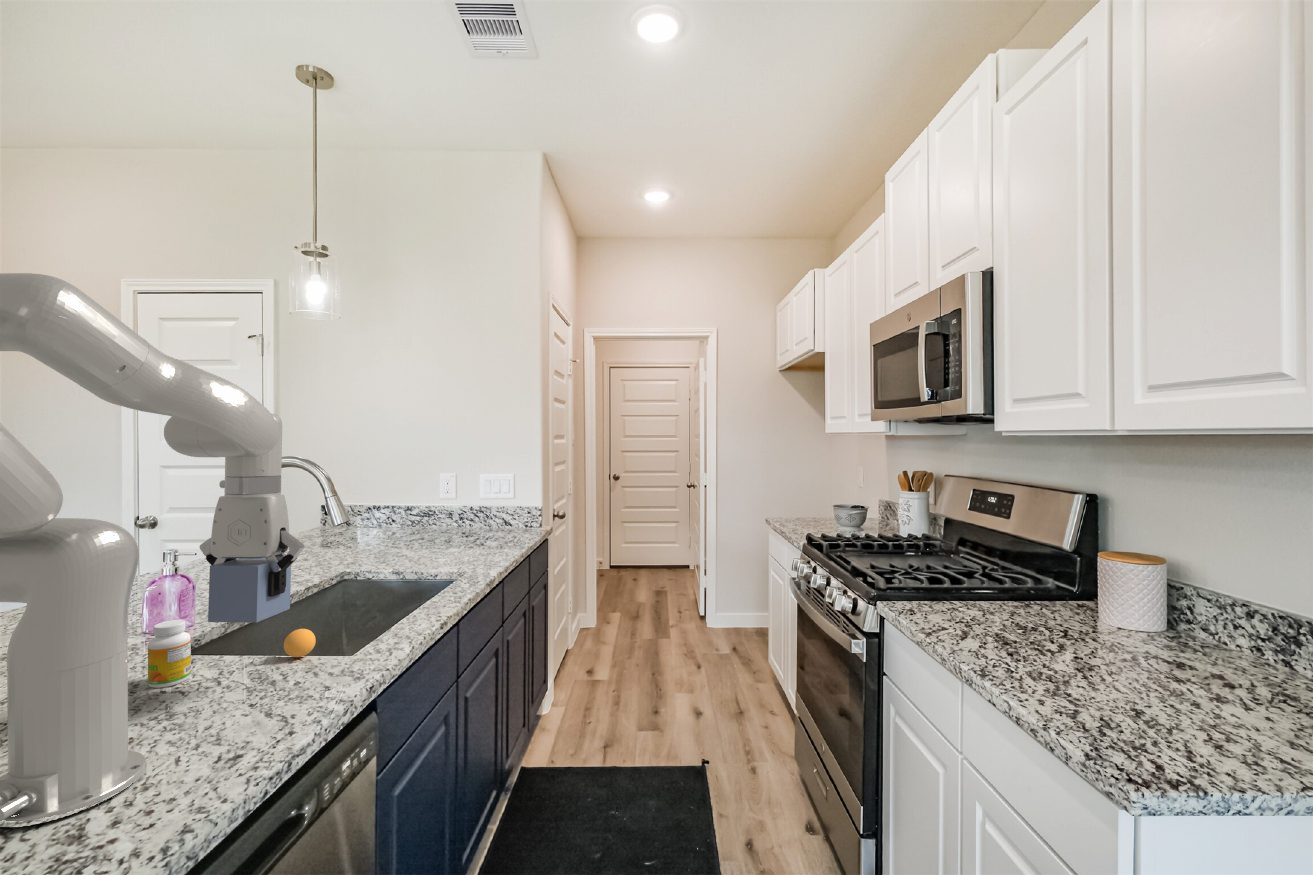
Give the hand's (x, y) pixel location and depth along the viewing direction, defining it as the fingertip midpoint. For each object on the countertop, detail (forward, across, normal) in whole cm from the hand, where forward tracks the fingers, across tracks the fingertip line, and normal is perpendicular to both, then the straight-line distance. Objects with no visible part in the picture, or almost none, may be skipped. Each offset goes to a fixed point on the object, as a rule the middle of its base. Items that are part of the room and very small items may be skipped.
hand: (251, 593), depth 90 cm
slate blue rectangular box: (+3, 0, 0) cm, 3 cm away
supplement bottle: (+15, -15, +2) cm, 22 cm away
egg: (+12, 0, +12) cm, 17 cm away
